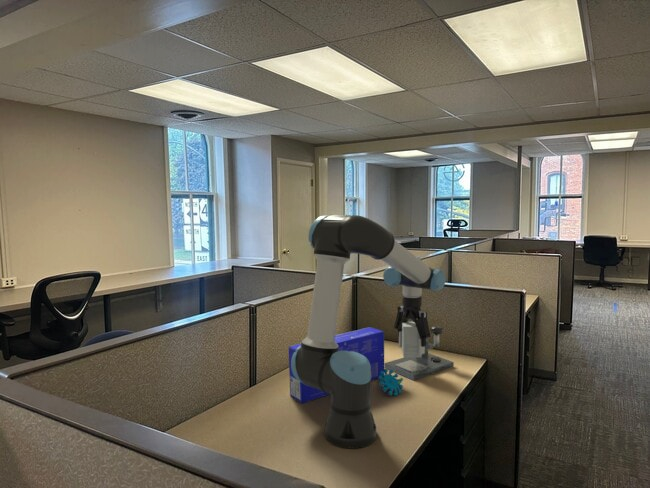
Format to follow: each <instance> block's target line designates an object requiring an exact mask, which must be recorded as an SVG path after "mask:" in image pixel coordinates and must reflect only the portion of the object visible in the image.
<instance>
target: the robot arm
mask: <svg viewBox="0 0 650 488" xmlns="http://www.w3.org/2000/svg"><path fill="white" fill-rule="evenodd" d="M308 242H309V245H310V246H311V247H312V249H313V254H312V255H313V257H314V258H315V260H316V261H317V262H316V269H315V277H314V286H313V292H312V298H311V305H310V314H309V321H308V329H307V336H306V337H305V338H304V339H302V340H301V343H302V344H301V343H300V344H301V346H299V347H298V348H297V349H296V352H294V354H293V356H292V360H291V369H292V372H293V375H294V376H295V378H296V379H297V380H298V381H300V382H302V383H303V384H305V385H306V386H310V387H313V388H315V389H318V390H320V391H323V392H325V393H328V394H329V395H330V410H329V413H328V417H327V420H326V422H325V425H324V436H325V439H326V440H327V441H328V442H329V443H331V444H332V445H334V446H336V447H339V448H343V449H359V448H365V447H368V446H370V445H371V444H373V443H374V442H375V440H376V439H377V425H376V423H375V418H374V416H373V413H372V409H371V408H372V407H371V406H372V405H371V401H372V398H371V397H372V395H371V393H372V391H371V390H372V380H371V367H370V362H369V360H368V359H367V358H366V357H365V356H363V355H362V354H359V353H357V352H353V351H351V352H349V351H338V344H337V343H336V342H335V340H334V339H335V335H336V332H337V322H338V315H339V307H340V301H341V300H340V298H341V290H342V285H343V278H344V277H343V276H344V269H345V265H346V264H347V262H349V261H350V260H351V254H357V255H363V256H367V257H370V258H372V259H374V260H375V261H376V260H377V261H382V262H383V263H385V264H387V265H388V266H387V267H386V268H385V269H384V271H383V274H382V277H383V281H384V283H385V284H386V285H387V286H389V287H398V286H402V305H400V306H397V309H396V310H397V312H396V313H397V314H396V317H395V321H394V325H393V328H394V329H396V330H397V338H398V348H400V349H402V322H403V323H404V322H409V320H411V321H412V322H415V325H416V327H417V330H418V333H419V335H420V338H419V349H418V354H419V355H421V354H425V346H426V338H428V339H429V338H431V332H430V327H429V326H430V325H429V326H428V321H427V319H428V312H427V311H422V309H421V308H422V302H423V301H422V300H423V298H422V295H423V294H422V293H423V290H428V291H429V290H430V291H442V290H443V288H444V287H445V283H446V274H445V271H443V270H441V269H437V268H432V267H431V266H429V265H427V264H426V263H425V262H424V261H423V260H422V258H421V257H419V256H418V257H417V256H416V255H415V254H414V253H412V252H411V251H409V249H407V248H405V246H403V245H401V244H400V242H398V241H397V240H396V239H395V236H394V234H392V232H390V231H389V230H388V229H386V227H384V226H382V225H381V224H379V223H377V222H376V221H374V220H373V219H370V218H367V217H365V216H363V215H355V214H353V215H349V214H326V215H325V214H324V215H320V216H318V217H317V218H316V219H314V221H313V222H312V223H311V225H310V228H309V230H308Z"/></svg>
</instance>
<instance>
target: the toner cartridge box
mask: <svg viewBox="0 0 650 488" xmlns="http://www.w3.org/2000/svg"><path fill="white" fill-rule="evenodd" d="M334 340H335V342H336V343H337V344H338V351H349V352H351V351H353V352H357V353H359V354H362V355H363V356H365V357H366V358H367V359H368V360H369V362H370V367H371V381H373V380H376V379H378V377H379V376H380V375H381V374H380V372H381V371H383V372H384V369H385V332H384V331H383V330H381V329H378V328H374V327H371V326H369V327H364V328H361V329H357V330H352V331H348V332H344V333H343V332H342V333H340V334H335V339H334ZM301 344H302V342H301V343H299V344H293V345H290V346H288V369H289V370H288V371H289V395H290V397H291V398H293V399H295V400H296V401H297V402H299V403H301V404H305V403H307V402H310V401H313V400H317V399H320V398H322V397H325V396H328V395H330V394H328V393H325V392H323V391H320V390H318V389H315V388H313V387H310V386H306V385H305V384H303V383H302V382H300V381H298V380H297V379H296V378H295V376H294V375H293V372H292V369H291V360H292V356H293V354H294V352H296V349H297V348H298V347H299V346H301ZM381 376H382V375H381Z"/></svg>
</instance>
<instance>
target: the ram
mask: <svg viewBox="0 0 650 488" xmlns="http://www.w3.org/2000/svg"><path fill="white" fill-rule="evenodd" d="M443 330H444V327H443V326H440V325H432V326H430V327H429V331H430V334H433V342H432V344H433V348H434V347H435V348H439V347H440V334H443Z"/></svg>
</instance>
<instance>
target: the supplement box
mask: <svg viewBox="0 0 650 488" xmlns="http://www.w3.org/2000/svg"><path fill="white" fill-rule="evenodd" d="M419 338H420V335H419V333H418V330H417V327H416V325H415V322H413V321H408V322H404V323H403V322H402V347H401V353H402V356H403V357H402V358H404V357H422V354H421V355H419V354H418V349H419Z"/></svg>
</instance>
